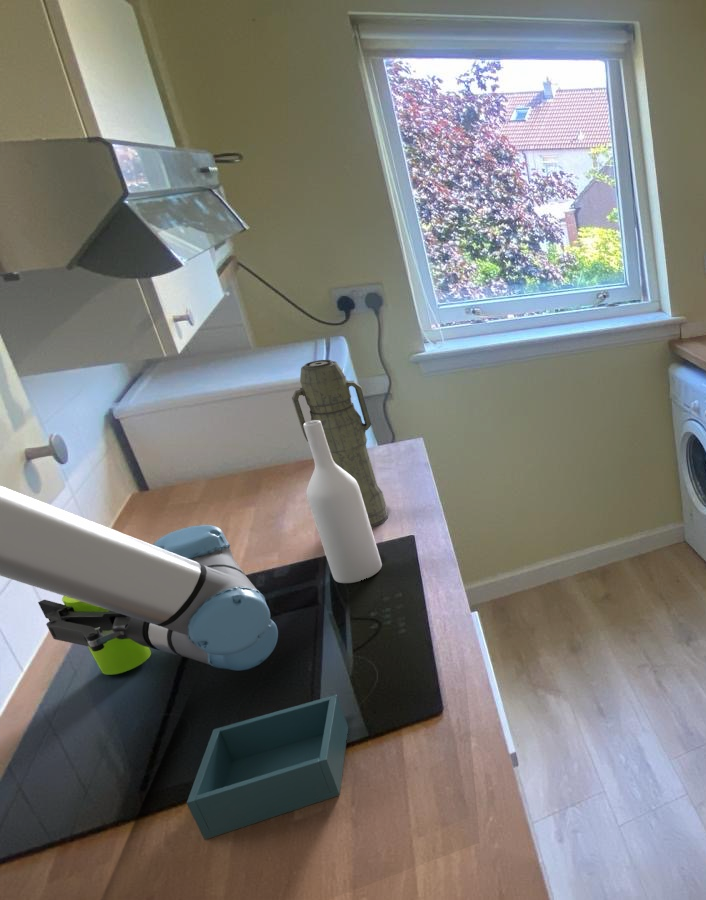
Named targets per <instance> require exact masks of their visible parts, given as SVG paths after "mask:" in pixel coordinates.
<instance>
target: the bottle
mask: <svg viewBox="0 0 706 900" xmlns="http://www.w3.org/2000/svg"><path fill="white" fill-rule="evenodd" d="M303 426H304V430H305V433H306V436H307V439H308V442H307V443H308V446H309V448H310V449H309V450H310V451H311V455H312V458H313V462H314V470H313V472H312V475H311V477H310V479H309V481H308V485H307V488H306V492H305V494H306V495H305V496H306V498H307V503H308V505H309V508H310V511H311V514H312V518H313V520H314V524H315V526H316V531H317V533H318V536H319V539H320V542H321V545H322V548H323V551H324V554H325V558H326V560H327V563H328V566H329V569H330V573H331V575H332V578H333V580H334V581H335V582H337V583H339V584H353V583H358V582H361V580H362V581H364V579H365V580H367V579H369V578H371V577H374V576H375V575H376V574H377V573H379V572H380V570H381V569H382V566H383V563H382V559H381V556H380V552H379V550H378V546H377V542H376V540H375V536H374V532H373V529H372V528H371V525H370V522H369V518H368V515H367V512H366V508H365V505H364V501H363V498H362V495H361V491H360V488H359V485H358V483H357V481H356V480H355V479H354V478H353V477H352V476H351V475H350V474H348V473H347V472H346V471H345V470H343V469H342V468H341V467H339V466H338V465H337V464H336V463H335V462H334V461H333V458H332V456H331V453H330V450H329V446H328V443H327V440H326V437H325V434H324V430H323V427H322V424H321V421H319V420H313V421H311V420H308V421H305V423H304V424H303ZM366 578H367V579H366Z"/></svg>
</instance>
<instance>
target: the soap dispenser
mask: <svg viewBox="0 0 706 900" xmlns="http://www.w3.org/2000/svg"><path fill="white" fill-rule="evenodd" d="M61 601H62V602H63V605H66V606H70V607H73V609H74V611H75V612H79V611H109V610H107V609H104V608H101V607H98V606H95V605H91V604H88V603H85V602H82V601H79V600H76V599H73V598H69V597H66V596H63V595H62V598H61ZM103 645H104V648H103V649H101V650H99V651H92V649H91V648H90V647H88V646H87V647H88V650H89V651H90V654H91V655H92V657H93V659H94V661H95V662H96V664H97V666H98V668H99V669H100V672H101V673H102V674H103V675H105V676H107V675H109V676H110V675H111V676H113V675H119V674H123V673H126V672H127V671H131V670H133V669H135V668H137V667H139V666H140V665H142V664H144V663H145V662H146V661H147V660H148V659H149V658H150V657H151V655H152V651H151V648H149V647H146V646H142V645H140V644H138V643H136V642H135V641H133V640H131V639H117V638H114V639H112V640H109V641H107V642H106V643H105V644H103Z"/></svg>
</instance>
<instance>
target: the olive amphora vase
mask: <svg viewBox="0 0 706 900" xmlns="http://www.w3.org/2000/svg"><path fill="white" fill-rule="evenodd" d="M299 382H300V386H301V387H299V389H296V390H295V391H294V393H293V395H292V397H291V400H292V404H293V407H294V410H295V413H296V416H297V419H298V422H299V426H300V428H301V431H302V434H303V436H304V438H305V440H306V441H307V443H309V442H308V439H307V436H306V433H305V430H304V426H303V424H304V423H306V420H305V416H304V414H303V410H302V408H301V404H300V401H299V397H300V396H302V397H304V398H305V401H306V404H307V406H308V408H309V414H310V421H313V420H319V421H321V424H322V427H323V430H324V434H325V437H326V440H327V443H328V446H329V450H330V453H331V456H332V458H333V461H334V462H335V463H336V464H337V465H338V466H339V467H341V468H342V469H343V470H345V471H346V472H347V473H348V474H350V475H351V476H352V477H353V478H354V479H355V480H356V481H357V483H358V485H359V488H360V491H361V495H362V498H363V501H364V505H365V508H366V512H367V515H368V518H369V522H370V525H371V529H372V528H375V527H377V526H379V525H381V524H383V523H384V522H386V521H387V520H388V518H389V513H388V511H387V507H386V506H387V503H386V499H385V496H384V493H383V491H382V489H381V488H380V487H379V485H378V482H377V479H376V475H375V472H374V468H373V465H372V461H371V458H370V455H369V451H368V447H367V442H368V437H367V434H366V431H368V430H369V428H371V426H372V422H371V418H370V415H369V411H368V407H367V404H366V401H365V400H366V399H365V396H364V392H363V387H362V386H361V385H360V384H359V383H357V382H356V381H354V380H347V377H346V375H345V374H344V372H343V369H342V368H341V367H340V365H339V363H338V362H337V361H335V360H331V359H319V360H313V361H309V362H307V363H305V364H304V365H302V366H301V367H300V377H299ZM350 387H353V388H354V389H355V393H356V397H357V400H358V403H359V407H360V411H361V415H362V416H361V415H360V414H359V412H358V411H357V409H356V408H355V405H354V403H353V402H352V399H351V398H352V394H351V391H350ZM362 418H363V419H362ZM362 420H363V421H364V422H363V421H362Z"/></svg>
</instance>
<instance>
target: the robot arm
mask: <svg viewBox="0 0 706 900" xmlns="http://www.w3.org/2000/svg"><path fill="white" fill-rule="evenodd" d="M230 547H231V544H230V543H229V542H228V540H227V537H226V536H225V534H224V532H223V529H221V528H220V527H218V526H215V525H211V524H200V525H192V526H187V527H184V528H180V529H177V530H174V531H172V532H169V533H167V534H165V535H162V536H161V537H159V538H158V539H157V540H155V542H154V543H152V544H151V543H149V542H146V541H144V540H141V539H140V538H136V537H133V536H131V535H128V534H125V533H123V532H121V531H118V530H116V529H114V528H110V527H108V526H105V525H103V524H100V523H98V522H96V521H94V520H93V521H92V520H90V519H87V518H85V517H83V516H81V515H77V514H74V513H72V512H69V511H67V510H64V509H62V508H59V507H57V506H54V505H52V504H50V503H48V502H44V501H42V500H39V499H36V498H33V497H31V496H30V495H26V494H23V493H21V492H18V491H16V490H14V489H11V488H8V487H5V486H3V485H1V484H0V577H3V578H6V579H10V580H12V581H16V582H18V583H22V584H26V585H28V586H32V587H35V588H38V589H40V590H44V591H47V592H50V593H54V594H56V595H60V596H62V597H63V596H66V597H69V598H73V599H76V600H79V601H82V602H85V603H88V604H91V605H95V606H98V607H101V608H104V609H107V610H109V611H79V612H75V611H74V609H73V607H70V606H66V605H65V604H64V603H63V604H62V603H59V602H55V601H52V600H48V599H42V600H40V601H38V602H37V603H38V605H39V608H40V609H41V611H42V614H43V615H44V618H45V619H48V622H47V623H45V625H46V627H47V629H48V631H49V633H50V635H51V637H52V639H53V640H56V641H60V642H65V643H71V644H75V645H80V646H84V647H90V648H91V649H92V651H99V650H101V649H103V648H104V645H103V644H105V643H106V642H107V641H109V640H112V639H114V638H117V639H131V640H133V641H135V642H136V643H138V644H140V645H142V646H146V647H149V649H153V650H157V651H161V652H164V653H169V654H172V655H175V656H179V657H183V658H187V659H191V660H193V661H196V662H197V661H198V662H201V663H203V664H207V665H209V666H211V667H213V668H215V669H224V670H229V671H230V670H231V671H240V672H241V671H247V670H250V669H253V668H255V667H257V666H259V665H261V664H262V663H263V662H264V661H266V660H267V659H268V658H269V657H270V655H271V654H272V653H273V652H274V650H275V648H276V646H277V643H278V640H279V639H278V638H279V629H278V627H277V624H276V623H275V622H274V620H273V619H271V611H270V608H269V606H268V604H267V601H266V597H265V595H264V594H262V593H261V591H259V590H258V589H257V588H256V587H255V585H254V584H253V583H252V582H251V580H250V579H249V578H248V576H247V575H246V574H245V572H244V570H243V569H242V568H241V566H240V565H239V564H238V563H237V561H236V559H235V558H234V555H233V553H232V550H231V548H230Z"/></svg>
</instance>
